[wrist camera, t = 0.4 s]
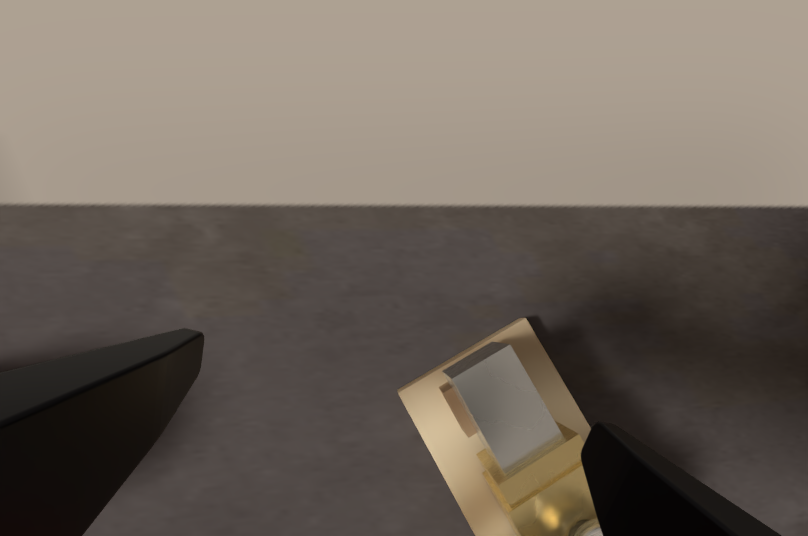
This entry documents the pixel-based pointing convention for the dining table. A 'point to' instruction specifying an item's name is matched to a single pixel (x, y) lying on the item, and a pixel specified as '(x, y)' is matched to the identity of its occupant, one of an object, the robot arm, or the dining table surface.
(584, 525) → the ball valve lever
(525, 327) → the birch rig board
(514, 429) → the valve and pipe
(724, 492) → the dining table surface
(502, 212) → the dining table surface
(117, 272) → the dining table surface
